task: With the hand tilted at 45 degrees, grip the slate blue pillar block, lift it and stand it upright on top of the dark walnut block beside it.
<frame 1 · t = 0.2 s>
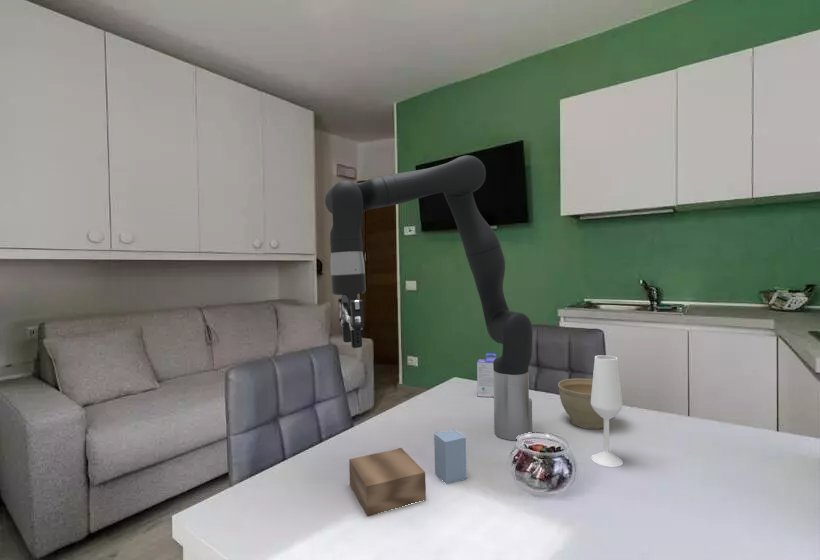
hand: (352, 344, 93), 29 cm above the table, tool pointing down, fingers open, 8 cm apart
walnut block: (386, 494, 84), on the table
planter bowl: (588, 423, 119), on the table
slate blue pillar block: (450, 476, 91), on the table
ink cartridge box: (491, 395, 146), on the table
champagne flute: (606, 460, 96), on the table
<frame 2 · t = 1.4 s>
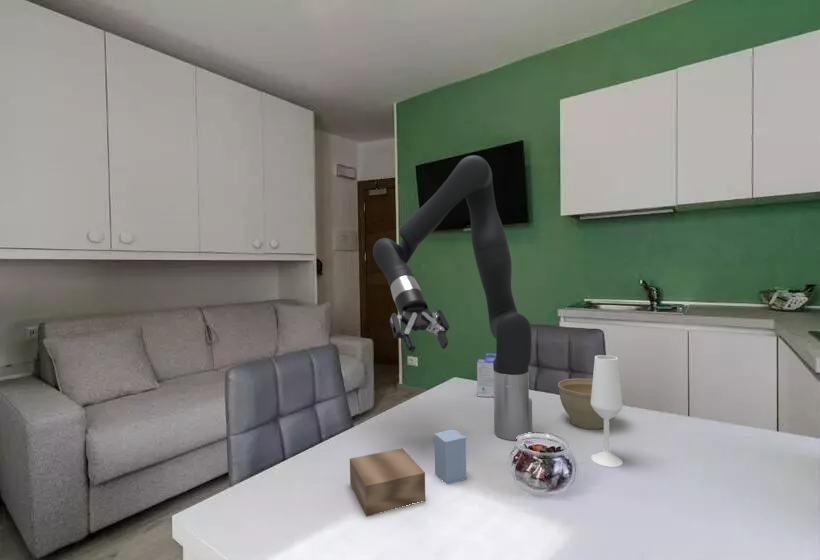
hand: (429, 348, 98), 26 cm above the table, tool tilted 45°, fingers open, 8 cm apart
nothing on the table moved.
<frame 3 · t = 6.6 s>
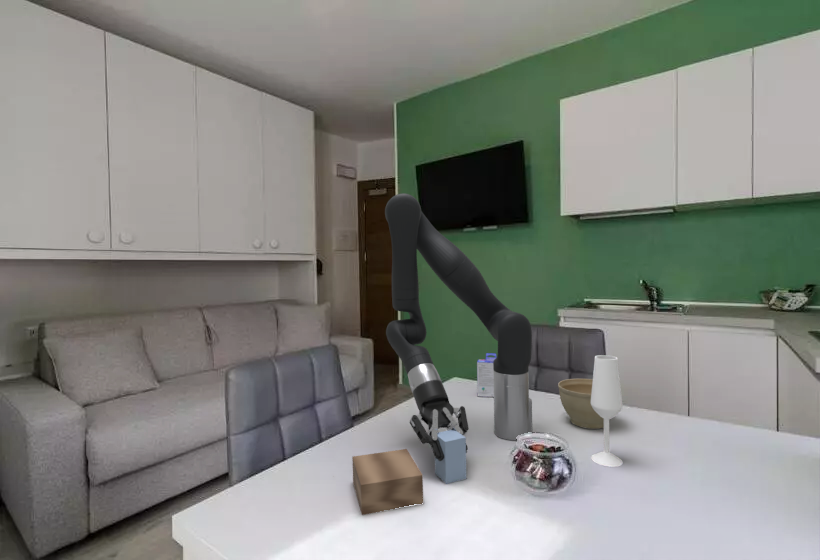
hand: (453, 456, 89), 5 cm above the table, tool tilted 45°, fingers closed on slate blue pillar block, 5 cm apart
slate blue pillar block: (450, 475, 91), on the table, touching gripper
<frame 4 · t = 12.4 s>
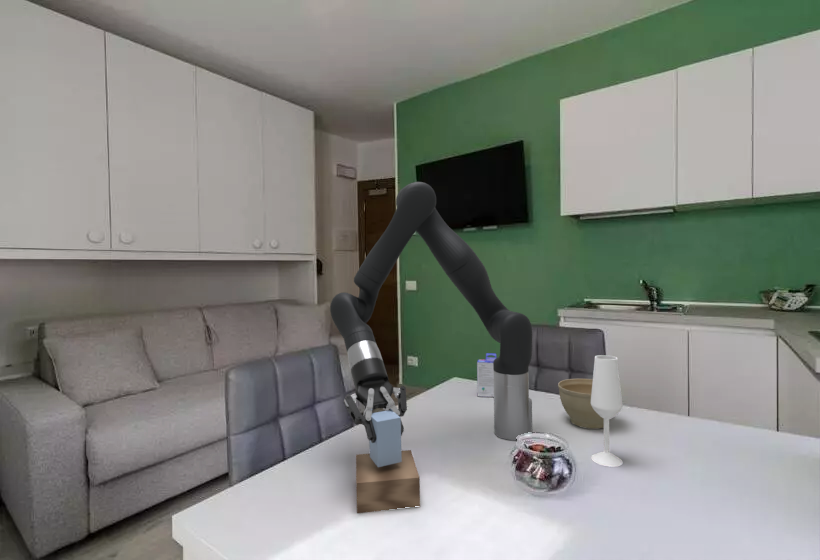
hand: (387, 438, 83), 12 cm above the table, tool tilted 45°, fingers closed on slate blue pillar block, 4 cm apart
slate blue pillar block: (385, 459, 84), point 7 cm above the table, touching gripper
when the fingers open (12 cm above the table, at t = 12.7 s): slate blue pillar block drops 1 cm, point 6 cm above the table.
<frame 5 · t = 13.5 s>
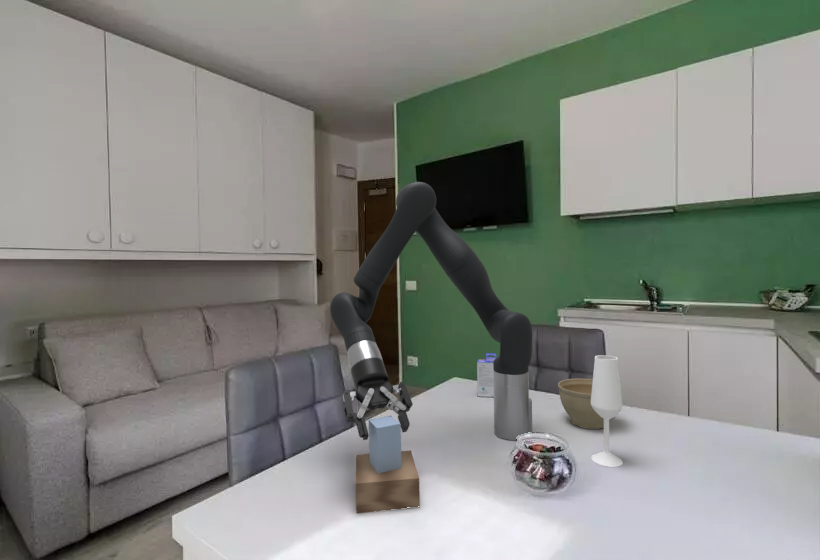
hand: (386, 434, 83), 12 cm above the table, tool tilted 45°, fingers open, 8 cm apart
slate blue pillar block: (385, 465, 84), point 6 cm above the table
everything else where it was.
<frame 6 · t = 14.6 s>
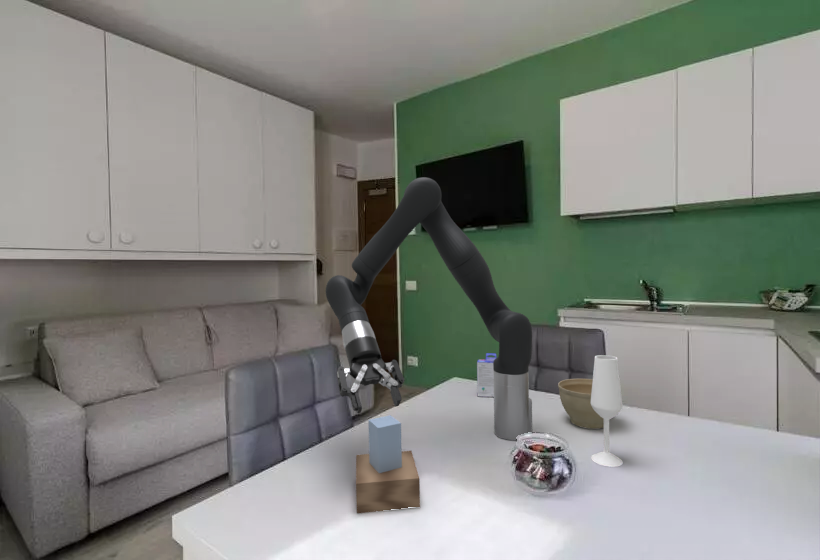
hand: (379, 407, 87), 16 cm above the table, tool tilted 45°, fingers open, 8 cm apart
nothing on the table moved.
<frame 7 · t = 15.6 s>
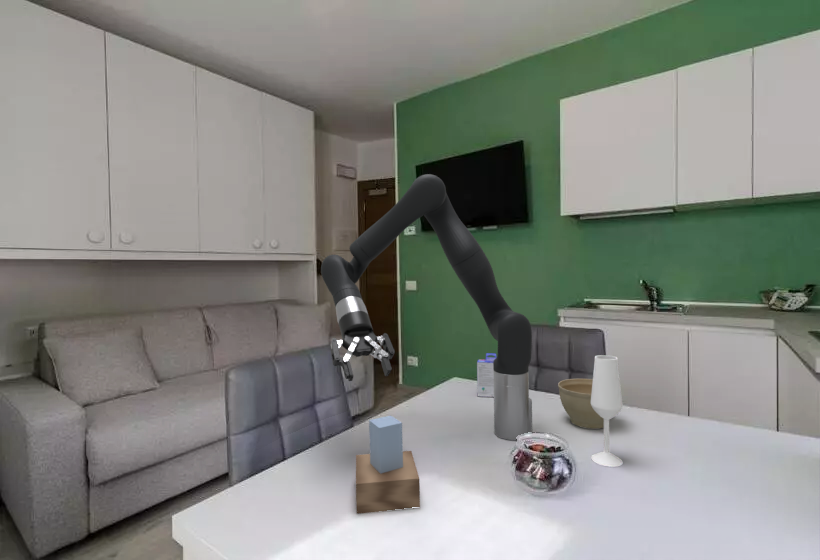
hand: (370, 376, 91), 22 cm above the table, tool tilted 45°, fingers open, 8 cm apart
nothing on the table moved.
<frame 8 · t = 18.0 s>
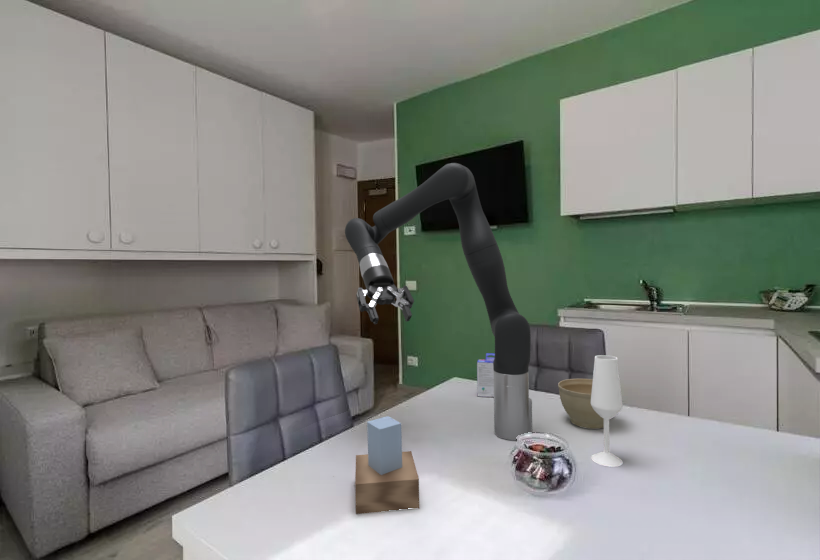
hand: (392, 320, 102), 33 cm above the table, tool tilted 45°, fingers open, 8 cm apart
nothing on the table moved.
at the end: slate blue pillar block 0.1 cm off-centre on the walnut block, point 6.0 cm above the walnut block's base; slate blue pillar block tilted 0°; the gripper is holding nothing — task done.
